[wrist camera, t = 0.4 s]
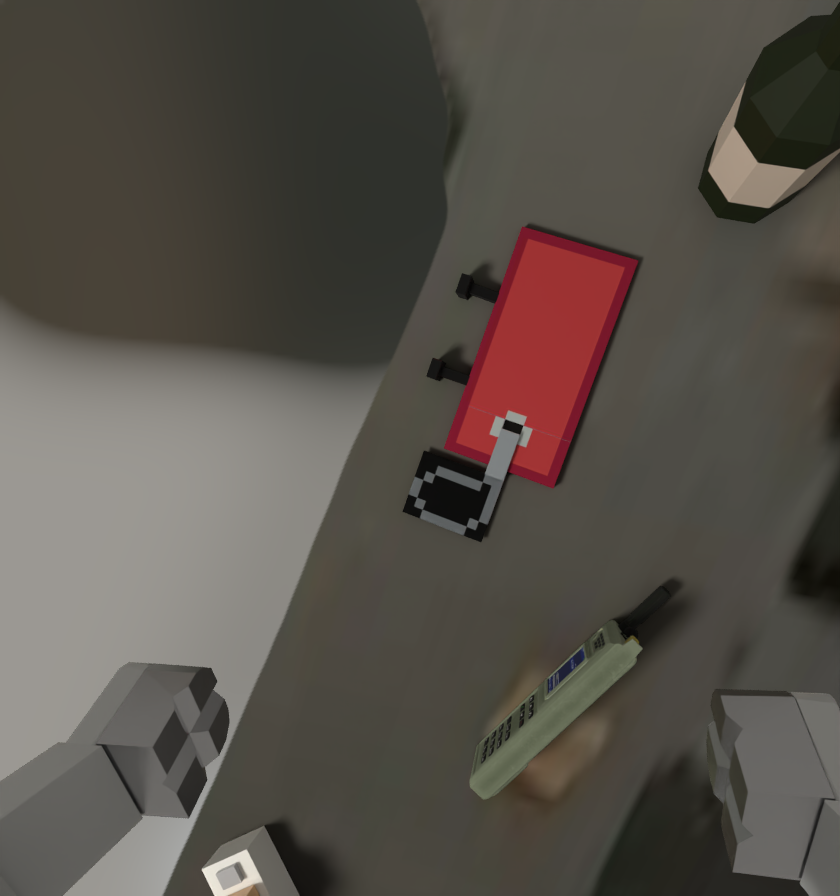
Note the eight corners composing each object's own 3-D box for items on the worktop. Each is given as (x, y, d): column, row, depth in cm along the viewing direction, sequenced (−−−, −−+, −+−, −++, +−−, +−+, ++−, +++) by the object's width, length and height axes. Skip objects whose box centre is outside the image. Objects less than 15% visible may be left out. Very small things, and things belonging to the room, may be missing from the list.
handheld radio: (471, 742, 65) (650, 572, 61) (495, 766, 65) (676, 597, 60) (463, 780, 59) (663, 593, 54) (489, 807, 58) (692, 621, 54)
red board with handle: (387, 503, 66) (526, 558, 63) (380, 507, 63) (525, 563, 61) (486, 220, 63) (636, 264, 61) (483, 210, 60) (640, 256, 58)
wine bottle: (820, 161, 56) (1099, -123, 27) (756, 242, 57) (957, 56, 28) (737, 112, 57) (919, -211, 28) (678, 192, 59) (791, -36, 29)
